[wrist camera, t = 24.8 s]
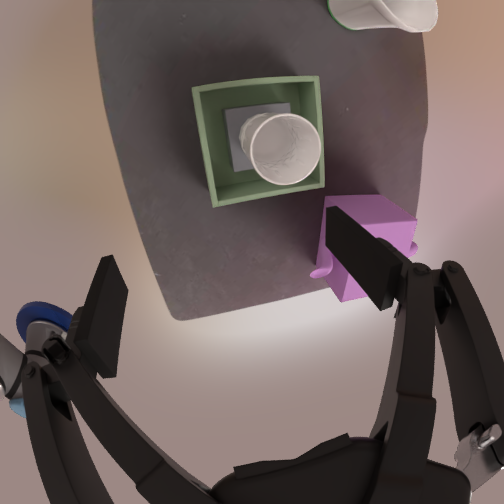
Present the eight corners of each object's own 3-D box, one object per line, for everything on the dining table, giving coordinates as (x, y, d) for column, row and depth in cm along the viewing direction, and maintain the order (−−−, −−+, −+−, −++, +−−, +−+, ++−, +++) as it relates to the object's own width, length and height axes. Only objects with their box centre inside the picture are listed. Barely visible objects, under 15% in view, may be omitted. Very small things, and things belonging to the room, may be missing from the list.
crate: (209, 191, 43) (213, 207, 37) (191, 89, 34) (191, 87, 28) (307, 174, 45) (324, 187, 39) (300, 77, 36) (319, 75, 30)
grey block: (229, 165, 41) (234, 172, 37) (221, 108, 36) (224, 109, 32) (286, 156, 42) (295, 162, 38) (280, 101, 37) (289, 102, 34)
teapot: (287, 197, 47) (322, 236, 35) (397, 194, 51) (443, 224, 40) (282, 270, 55) (308, 319, 43) (383, 255, 59) (419, 292, 48)
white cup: (294, 155, 38) (325, 175, 30) (242, 170, 37) (259, 193, 29) (283, 103, 34) (314, 107, 25) (227, 117, 33) (241, 123, 25)
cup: (326, 41, 33) (385, 27, 20) (306, -20, 26) (355, -53, 13) (384, 41, 33) (446, 37, 21) (367, -16, 26) (424, -34, 14)
